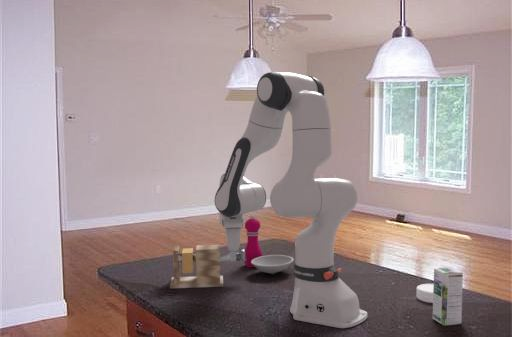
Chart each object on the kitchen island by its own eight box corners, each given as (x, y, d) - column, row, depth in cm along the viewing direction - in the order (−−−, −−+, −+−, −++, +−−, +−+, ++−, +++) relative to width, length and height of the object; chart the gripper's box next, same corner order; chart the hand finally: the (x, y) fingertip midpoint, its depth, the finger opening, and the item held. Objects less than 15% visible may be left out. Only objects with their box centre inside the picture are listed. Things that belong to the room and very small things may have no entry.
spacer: (193, 267, 190) (193, 248, 190) (192, 273, 183) (192, 252, 183) (183, 268, 190) (183, 248, 190) (182, 273, 183) (181, 253, 183)
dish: (273, 282, 187) (273, 268, 187) (242, 275, 196) (242, 262, 196) (302, 271, 201) (302, 258, 200) (272, 265, 210) (272, 252, 209)
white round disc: (435, 306, 161) (435, 294, 161) (409, 297, 170) (409, 286, 170) (456, 300, 167) (457, 289, 166) (431, 291, 175) (431, 281, 175)
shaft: (244, 261, 190) (244, 247, 190) (245, 264, 186) (245, 251, 185) (173, 263, 189) (173, 250, 188) (172, 267, 184) (172, 253, 183)
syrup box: (431, 318, 150) (432, 267, 149) (450, 317, 152) (451, 266, 151) (443, 326, 145) (444, 273, 144) (462, 324, 146) (463, 271, 145)
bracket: (222, 278, 193) (222, 243, 192) (223, 286, 183) (222, 250, 182) (172, 279, 192) (171, 245, 191) (169, 288, 182) (168, 251, 181)
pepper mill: (260, 268, 206) (259, 216, 204) (242, 267, 207) (241, 216, 206) (263, 263, 213) (263, 213, 211) (246, 262, 214) (245, 213, 213)
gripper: (222, 213, 197) (223, 250, 198) (223, 224, 176) (224, 265, 177) (239, 213, 197) (240, 250, 198) (242, 223, 177) (243, 264, 178)
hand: (232, 257), depth 188 cm, fingers open, 7 cm apart
